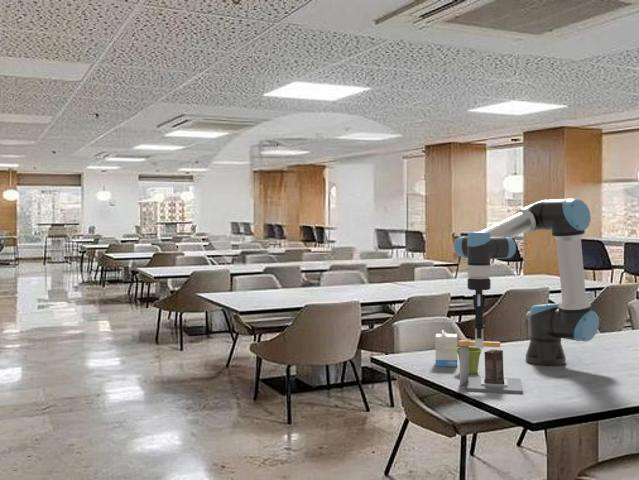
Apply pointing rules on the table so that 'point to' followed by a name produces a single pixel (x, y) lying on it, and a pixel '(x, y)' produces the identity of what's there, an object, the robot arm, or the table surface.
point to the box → (494, 367)
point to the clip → (472, 343)
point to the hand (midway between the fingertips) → (479, 347)
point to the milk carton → (446, 349)
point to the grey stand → (479, 383)
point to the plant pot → (472, 358)
